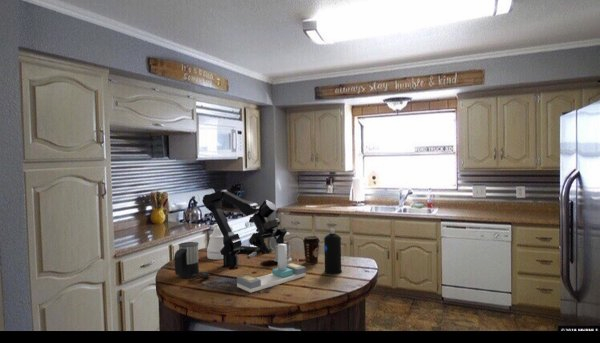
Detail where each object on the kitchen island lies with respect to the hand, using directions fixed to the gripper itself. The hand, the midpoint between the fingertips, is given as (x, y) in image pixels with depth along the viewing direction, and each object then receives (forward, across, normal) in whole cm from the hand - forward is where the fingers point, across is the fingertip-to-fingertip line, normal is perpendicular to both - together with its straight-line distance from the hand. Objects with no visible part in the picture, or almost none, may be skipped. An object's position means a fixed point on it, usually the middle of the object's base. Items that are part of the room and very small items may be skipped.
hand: (276, 251), depth 165 cm
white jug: (-28, -1, +44) cm, 52 cm away
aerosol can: (+18, +23, -1) cm, 29 cm away
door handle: (-21, +15, +38) cm, 46 cm away
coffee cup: (+5, +26, +12) cm, 29 cm away
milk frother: (-10, -27, +27) cm, 40 cm away
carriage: (+10, 0, +4) cm, 10 cm away
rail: (+11, -6, +5) cm, 13 cm away
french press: (-6, +19, +23) cm, 30 cm away
